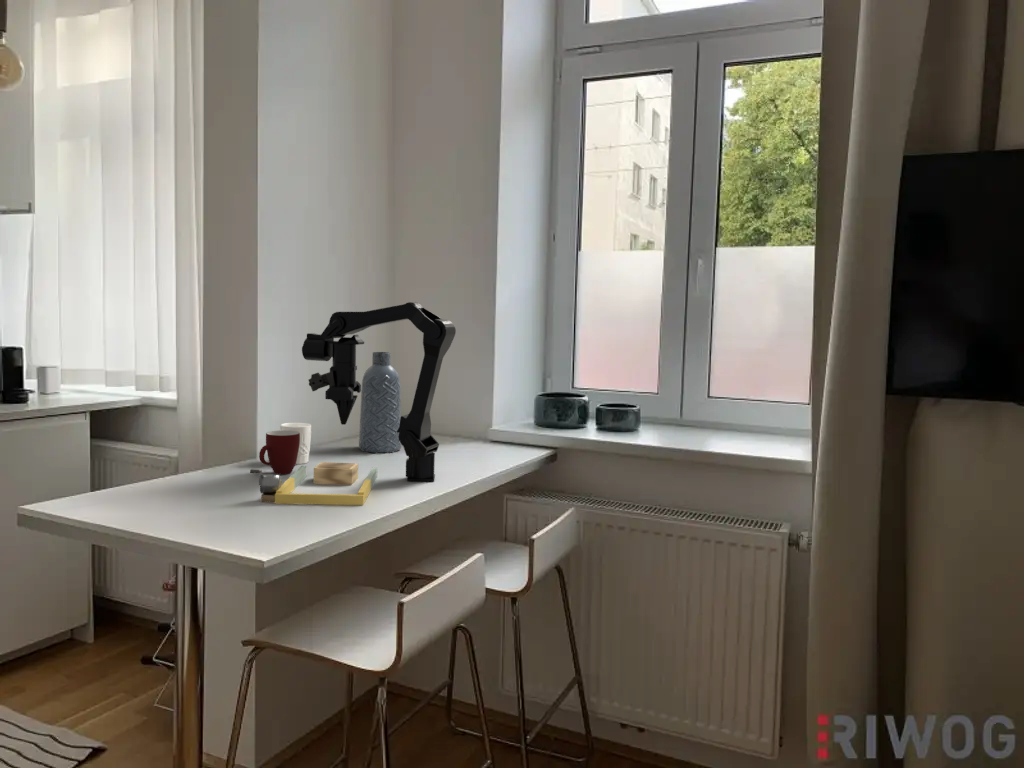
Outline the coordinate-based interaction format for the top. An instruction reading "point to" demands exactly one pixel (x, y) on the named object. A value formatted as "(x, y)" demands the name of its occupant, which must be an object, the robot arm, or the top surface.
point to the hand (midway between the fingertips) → (343, 424)
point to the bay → (287, 497)
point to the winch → (268, 485)
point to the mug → (281, 450)
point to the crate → (336, 473)
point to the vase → (380, 406)
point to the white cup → (304, 439)
